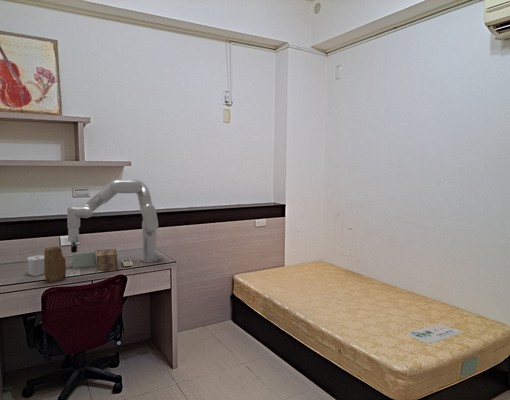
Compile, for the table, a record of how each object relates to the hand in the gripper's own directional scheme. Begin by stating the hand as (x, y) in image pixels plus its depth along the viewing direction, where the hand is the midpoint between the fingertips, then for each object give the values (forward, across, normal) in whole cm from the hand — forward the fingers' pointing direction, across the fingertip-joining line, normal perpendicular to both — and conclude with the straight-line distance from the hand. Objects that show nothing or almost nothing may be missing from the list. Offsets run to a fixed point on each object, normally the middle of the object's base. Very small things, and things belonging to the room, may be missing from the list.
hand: (74, 252), depth 250 cm
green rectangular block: (+9, +6, +5) cm, 12 cm away
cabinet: (+9, +16, +17) cm, 25 cm away
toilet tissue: (+10, +4, -22) cm, 24 cm away
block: (+10, +22, -15) cm, 28 cm away
